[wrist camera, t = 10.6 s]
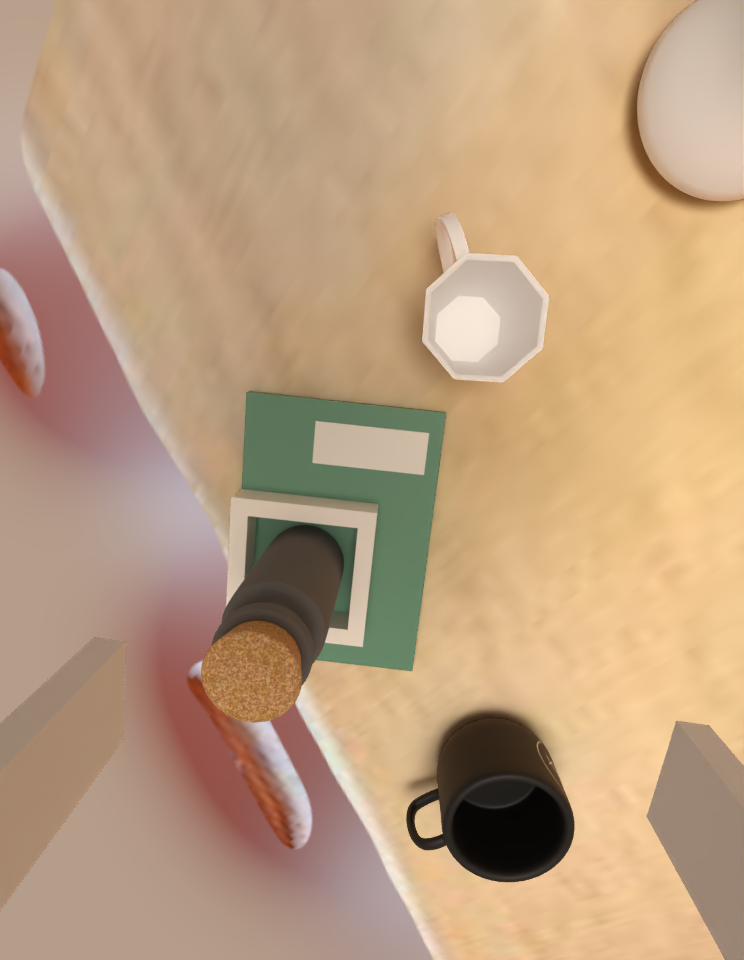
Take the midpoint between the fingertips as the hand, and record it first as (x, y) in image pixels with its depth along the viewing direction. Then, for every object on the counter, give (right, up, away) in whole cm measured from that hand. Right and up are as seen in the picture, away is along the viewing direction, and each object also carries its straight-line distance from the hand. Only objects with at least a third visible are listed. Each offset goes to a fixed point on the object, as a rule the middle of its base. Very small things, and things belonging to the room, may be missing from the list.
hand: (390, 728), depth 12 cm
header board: (-3, +2, +26) cm, 27 cm away
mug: (+8, -17, +30) cm, 36 cm away
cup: (+5, +18, +23) cm, 29 cm away
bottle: (-5, 0, +26) cm, 27 cm away
